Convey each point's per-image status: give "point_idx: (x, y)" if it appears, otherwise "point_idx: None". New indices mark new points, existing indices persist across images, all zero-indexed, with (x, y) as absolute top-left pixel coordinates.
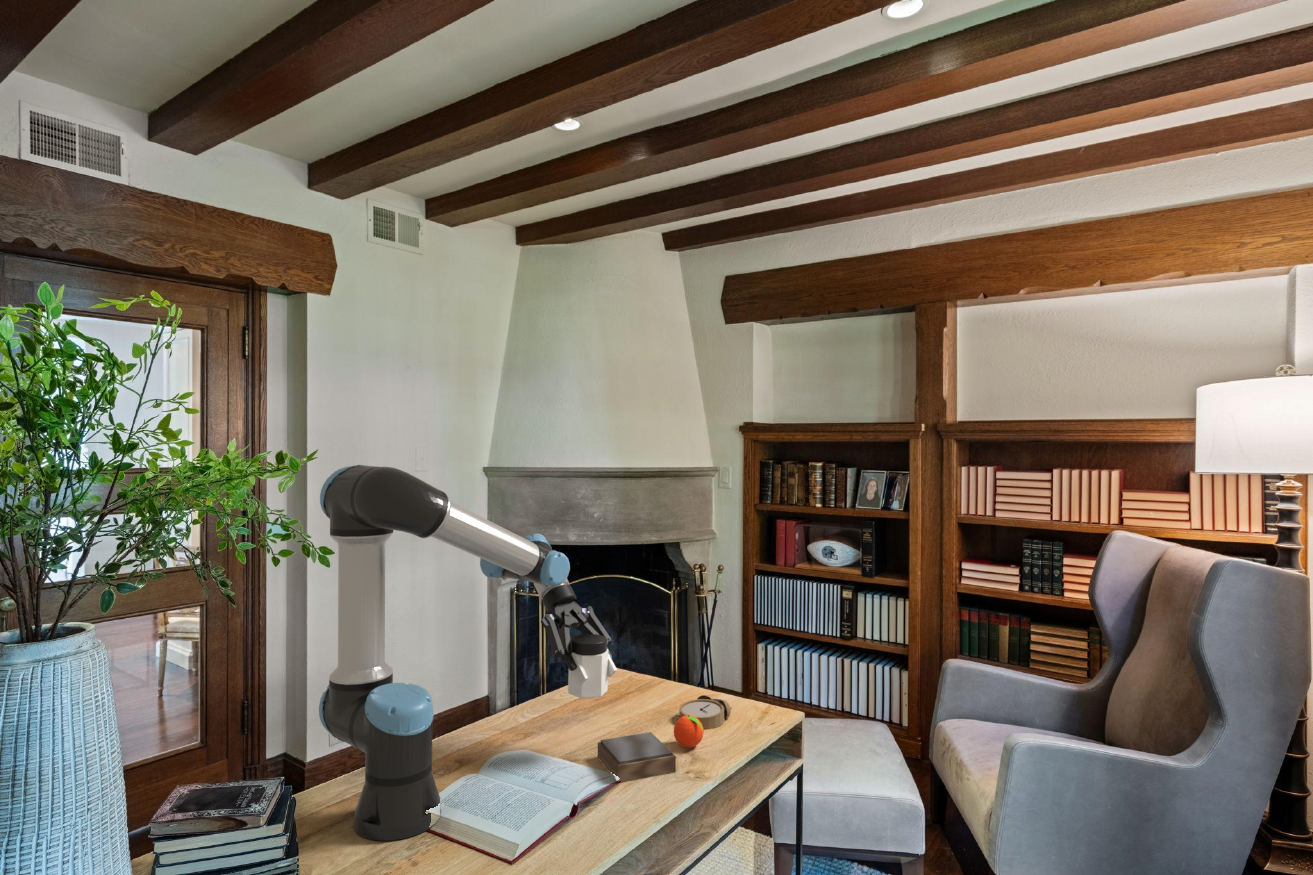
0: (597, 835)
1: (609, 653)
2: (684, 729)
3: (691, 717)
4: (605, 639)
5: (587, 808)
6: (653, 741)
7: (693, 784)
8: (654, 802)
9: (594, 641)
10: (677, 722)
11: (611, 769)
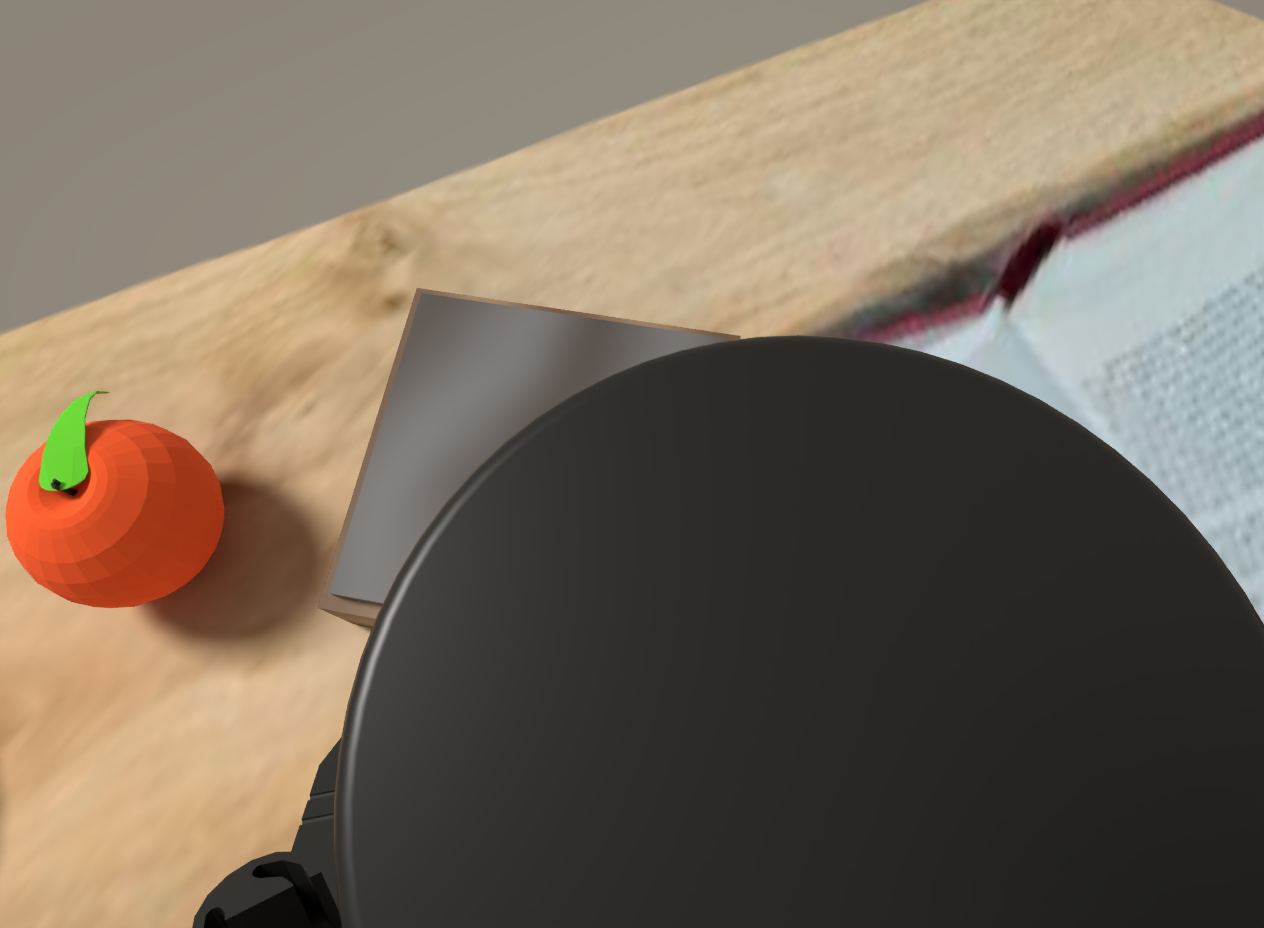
0: (1010, 74)
1: (333, 793)
2: (173, 452)
3: (56, 466)
4: (485, 492)
5: (966, 248)
6: (409, 463)
7: (454, 202)
8: (690, 161)
9: (798, 477)
10: (145, 524)
11: None
